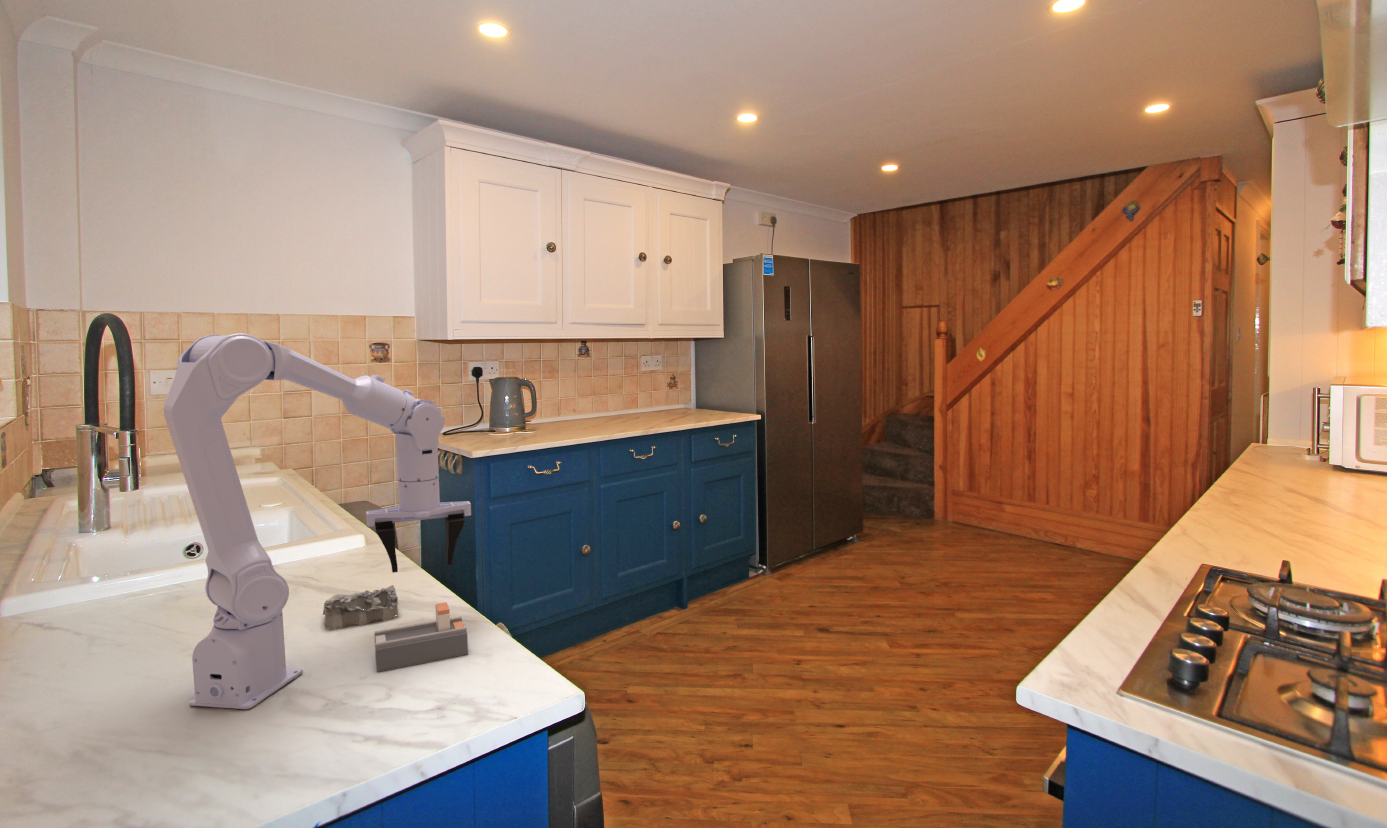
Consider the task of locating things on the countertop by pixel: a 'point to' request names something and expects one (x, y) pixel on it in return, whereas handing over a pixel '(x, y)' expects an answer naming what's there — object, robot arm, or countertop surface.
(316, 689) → the countertop surface
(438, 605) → the breaker handle
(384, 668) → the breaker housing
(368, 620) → the egg carton
